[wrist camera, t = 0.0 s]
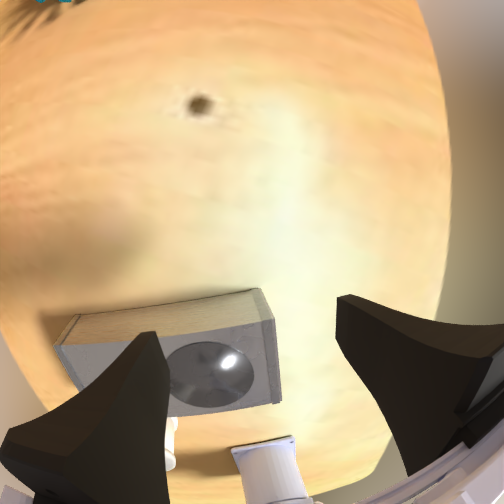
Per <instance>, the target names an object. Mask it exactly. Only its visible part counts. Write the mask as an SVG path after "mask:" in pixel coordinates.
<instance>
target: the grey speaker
mask: <svg viewBox="0 0 504 504" xmlns="http://www.w3.org/2000/svg"><path fill="white" fill-rule="evenodd" d="M147 331H156V334H157V337H158V340H159V342H160V345H161V348H162V351H163V353H164V356H165V359H166V361H167V364H168V366H169V369H170V397H169V406H168V414H167V418H168V417H182V416H193V415H202V414H211V413H218V412H225V411H232V410H238V409H244V408H249V407H254V406H260V405H264V404H269V403H272V404H277V403H280V401H282V393H281V381H280V370H279V359H278V348H277V337H276V326H275V318H274V316H273V314H272V312H271V309H270V307H269V305H268V303H267V301H266V299H265V296H264V294H263V292H262V290H261V289H258V288H255V289H250V291H245V292H239V293H233V294H228V295H222V296H216V297H210V298H204V299H197V300H191V301H185V302H178V303H171V304H165V305H158V306H151V307H144V308H136V309H129V310H121V311H113V312H105V313H96V314H88V315H81V314H78V315H75V316H74V317H73V318H72V319H71V321H70V322H69V323H68V325H67V326H66V328H65V329H64V330H63V332H62V333H61V335H60V336H59V337H58V339H57V340H56V342H55V343H54V345H53V347H54V349H55V351H56V353H57V355H58V357H59V359H60V361H61V362H62V364H63V366H64V368H65V369H66V371H67V373H68V375H69V376H70V378H71V380H72V381H73V383H74V385H75V386H76V388H77V389H78V391H79V392H81V391H82V390H83V389H84V388H86V387H87V386H88V385H89V384H90V383H92V382H93V381H94V380H95V379H96V378H97V377H98V376H99V375H100V374H101V373H102V372H103V371H104V370H105V369H106V368H107V367H108V366H109V365H110V364H111V363H112V362H113V361H114V360H115V359H116V358H117V357H118V356H119V355H120V354H121V353H122V352H123V351H124V349H125V348H126V347H127V346H128V345H129V344H130V343H131V342H132V341H133V340H134V339H135V338H136V336H137V335H139V334H140V333H141V332H147Z"/></svg>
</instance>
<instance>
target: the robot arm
mask: <svg viewBox="0 0 504 504" xmlns="http://www.w3.org/2000/svg"><path fill="white" fill-rule="evenodd" d="M335 338H336V340H337V342H338V344H339V347H340V349H341V350H342V352H343V354H344V356H345V358H346V359H347V361H348V362H349V363H350V365H351V366H352V368H353V369H354V370H355V372H356V373H357V375H358V376H359V377H360V379H361V380H362V381H363V383H364V384H365V386H366V387H367V388H368V390H369V391H370V392H371V394H372V396H373V397H374V399H375V400H376V402H377V404H378V406H379V408H380V410H381V412H382V413H383V415H384V417H385V419H386V421H387V424H388V426H389V428H390V430H391V432H392V434H393V436H394V439H395V441H396V444H397V446H398V449H399V451H400V454H401V457H402V460H403V462H404V465H405V468H406V472H407V475H408V478H406V479H404V480H402V481H400V482H399V483H397V484H395V485H393V486H391V487H389V488H387V489H385V490H383V491H381V492H379V493H376V494H374V495H372V496H370V497H368V498H365V499H363V500H360V501H358V502H355V503H353V504H402V503H404V502H406V501H407V500H409V499H411V498H413V497H414V496H416V495H418V494H419V493H421V492H423V491H424V490H426V489H428V488H429V487H430V486H432V485H434V484H435V483H437V482H438V483H437V484H436V485H434V486H433V487H432V488H430V489H429V490H427V491H426V492H425V493H423V494H422V495H420V496H419V497H418V498H416V499H415V500H414V502H413V503H412V504H494V503H495V502H496V501H497V500H498V498H499V497H500V496H501V495H502V494H503V493H504V324H496V325H458V324H450V323H443V322H437V321H432V320H428V319H423V318H419V317H415V316H412V315H409V314H406V313H402V312H399V311H396V310H393V309H391V308H388V307H385V306H383V305H380V304H377V303H375V302H372V301H369V300H367V299H364V298H361V297H358V296H355V295H351V294H349V295H345V296H341V297H337V312H336V336H335ZM169 397H170V369H169V366H168V364H167V361H166V359H165V356H164V353H163V351H162V348H161V345H160V342H159V340H158V337H157V334H156V331H147V332H141V333H140V334H139V335H137V336H136V338H135V339H134V340H133V341H132V342H131V343H130V344H129V345H128V346H127V347H126V348H125V349H124V351H123V352H122V353H121V354H120V355H119V356H118V357H117V358H116V359H115V360H114V361H113V362H112V363H111V364H110V365H109V366H108V367H107V368H106V369H105V370H104V371H103V372H102V373H101V374H100V375H99V376H98V377H97V378H96V379H95V380H94V381H93V382H92V383H90V384H89V385H88V386H87V387H86V388H84V389H83V390H82V391H81V392H79V393H78V394H77V395H75V396H74V397H72V398H71V399H69V400H68V401H66V402H65V403H63V404H62V405H60V406H59V407H57V408H55V409H54V410H52V411H50V412H48V413H46V414H44V415H42V416H40V417H38V418H36V419H34V420H32V421H29V422H26V423H24V424H21V425H18V426H16V427H13V428H10V429H9V430H8V432H7V434H6V436H5V438H4V441H3V443H2V445H1V447H0V462H1V463H2V465H3V466H4V467H5V468H6V469H7V470H8V471H9V472H10V473H11V474H13V475H14V476H15V477H16V478H18V480H20V481H21V482H22V483H23V484H25V485H26V486H27V487H29V488H30V489H31V490H32V491H34V492H35V496H34V499H33V498H32V497H30V496H28V495H26V494H24V493H22V492H20V491H18V490H16V489H13V488H12V487H9V486H7V485H5V486H4V489H3V492H2V496H1V499H0V504H170V499H169V493H168V486H167V476H166V464H165V432H166V423H167V414H168V406H169ZM231 453H232V456H233V458H234V460H235V463H236V465H237V468H238V470H239V472H240V474H241V479H242V484H243V489H244V494H245V499H246V504H323V503H321V502H319V501H317V502H313V499H312V497H310V498H309V497H308V494H307V491H306V489H305V486H304V483H303V480H302V477H301V475H300V472H299V469H298V466H297V463H296V452H295V437H294V436H290V437H286V438H282V439H277V440H273V441H268V442H263V443H258V444H253V445H247V446H241V447H234V448H231Z"/></svg>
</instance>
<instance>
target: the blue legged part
mask: <svg viewBox="0 0 504 504" xmlns="http://www.w3.org/2000/svg"><path fill="white" fill-rule="evenodd" d="M36 1H38V2H40V3H42V2H44V1H45V0H36ZM58 1H60V2H71V1H72V0H58Z"/></svg>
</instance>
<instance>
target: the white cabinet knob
mask: <svg viewBox="0 0 504 504" xmlns="http://www.w3.org/2000/svg"><path fill="white" fill-rule="evenodd" d="M177 423H178V417H168V418H167V423H166V432H165V464H166V471H169V470H171V469H173V468H174V467H175V465H176V458H175V455H174V432H175V431H176V429H177Z"/></svg>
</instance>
